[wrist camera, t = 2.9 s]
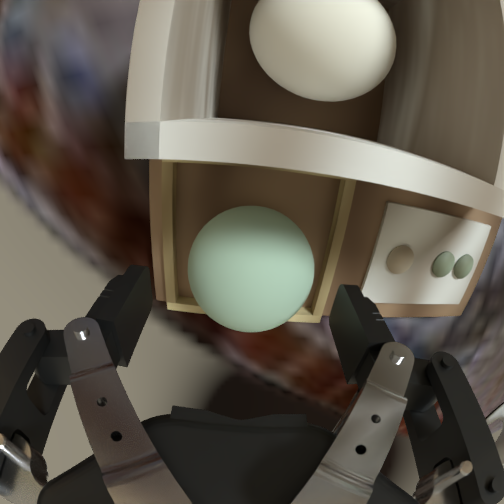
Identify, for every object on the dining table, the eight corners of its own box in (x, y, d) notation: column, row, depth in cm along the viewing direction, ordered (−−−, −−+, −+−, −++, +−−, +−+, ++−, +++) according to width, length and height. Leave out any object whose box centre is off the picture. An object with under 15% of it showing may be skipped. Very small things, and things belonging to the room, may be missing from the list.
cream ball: (368, 18, 10) (422, -18, 5) (359, 114, 13) (418, 119, 7) (256, -4, 10) (257, -62, 4) (244, 95, 12) (237, 81, 7)
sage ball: (312, 197, 15) (343, 247, 10) (294, 289, 18) (307, 361, 12) (201, 186, 15) (170, 230, 9) (199, 280, 17) (178, 351, 12)
